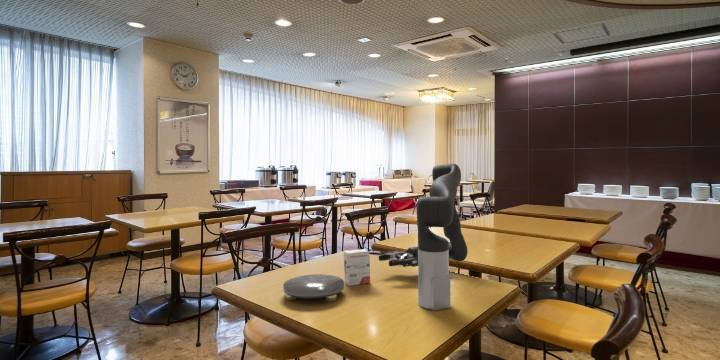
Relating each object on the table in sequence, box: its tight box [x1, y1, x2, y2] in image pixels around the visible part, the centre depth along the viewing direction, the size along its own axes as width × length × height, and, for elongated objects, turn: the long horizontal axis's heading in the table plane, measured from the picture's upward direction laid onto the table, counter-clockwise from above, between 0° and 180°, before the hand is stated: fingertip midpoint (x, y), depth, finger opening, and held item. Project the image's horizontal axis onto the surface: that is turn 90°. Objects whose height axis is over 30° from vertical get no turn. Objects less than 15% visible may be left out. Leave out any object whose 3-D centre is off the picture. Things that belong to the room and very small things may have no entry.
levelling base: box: [282, 273, 345, 303], centre depth 127 cm, size 20×20×5 cm
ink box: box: [343, 248, 371, 287], centre depth 139 cm, size 9×5×12 cm, turn 111°
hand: (384, 260), depth 144 cm, fingers open, 8 cm apart
